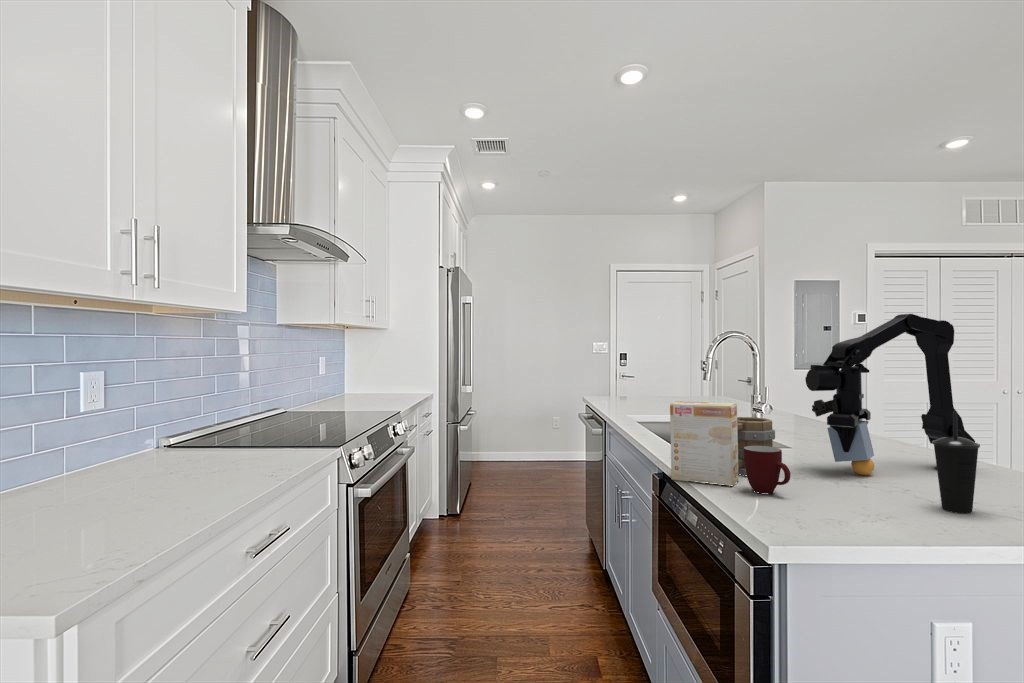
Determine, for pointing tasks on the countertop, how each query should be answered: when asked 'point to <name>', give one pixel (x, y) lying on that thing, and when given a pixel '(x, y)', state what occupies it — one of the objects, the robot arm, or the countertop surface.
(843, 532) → the countertop surface
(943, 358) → the robot arm
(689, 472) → the coffeecake box
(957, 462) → the drinking cup
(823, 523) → the countertop surface
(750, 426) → the tankard
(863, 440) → the slate grey cube
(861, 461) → the ball
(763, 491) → the mug
